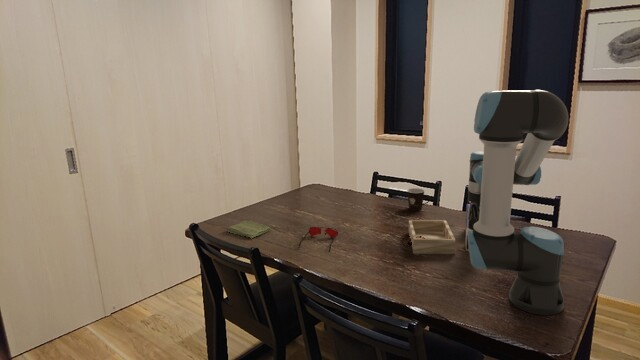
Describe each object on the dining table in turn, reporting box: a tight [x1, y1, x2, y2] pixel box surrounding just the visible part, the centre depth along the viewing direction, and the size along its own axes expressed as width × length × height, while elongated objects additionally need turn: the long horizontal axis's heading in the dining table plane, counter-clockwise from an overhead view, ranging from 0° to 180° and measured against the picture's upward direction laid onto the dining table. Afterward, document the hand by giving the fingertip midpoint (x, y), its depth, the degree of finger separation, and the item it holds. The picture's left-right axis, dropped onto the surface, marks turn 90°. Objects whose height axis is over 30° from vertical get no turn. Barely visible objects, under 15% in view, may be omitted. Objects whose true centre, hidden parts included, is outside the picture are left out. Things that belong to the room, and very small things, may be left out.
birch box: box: [408, 219, 456, 255], centre depth 177 cm, size 22×16×6 cm
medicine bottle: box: [465, 219, 476, 252], centre depth 169 cm, size 7×7×12 cm
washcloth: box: [226, 220, 271, 240], centre depth 198 cm, size 13×18×3 cm
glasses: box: [297, 226, 340, 253], centre depth 181 cm, size 14×16×5 cm
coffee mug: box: [406, 187, 431, 212], centre depth 217 cm, size 12×9×10 cm
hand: (475, 243), depth 170 cm, fingers open, 10 cm apart
